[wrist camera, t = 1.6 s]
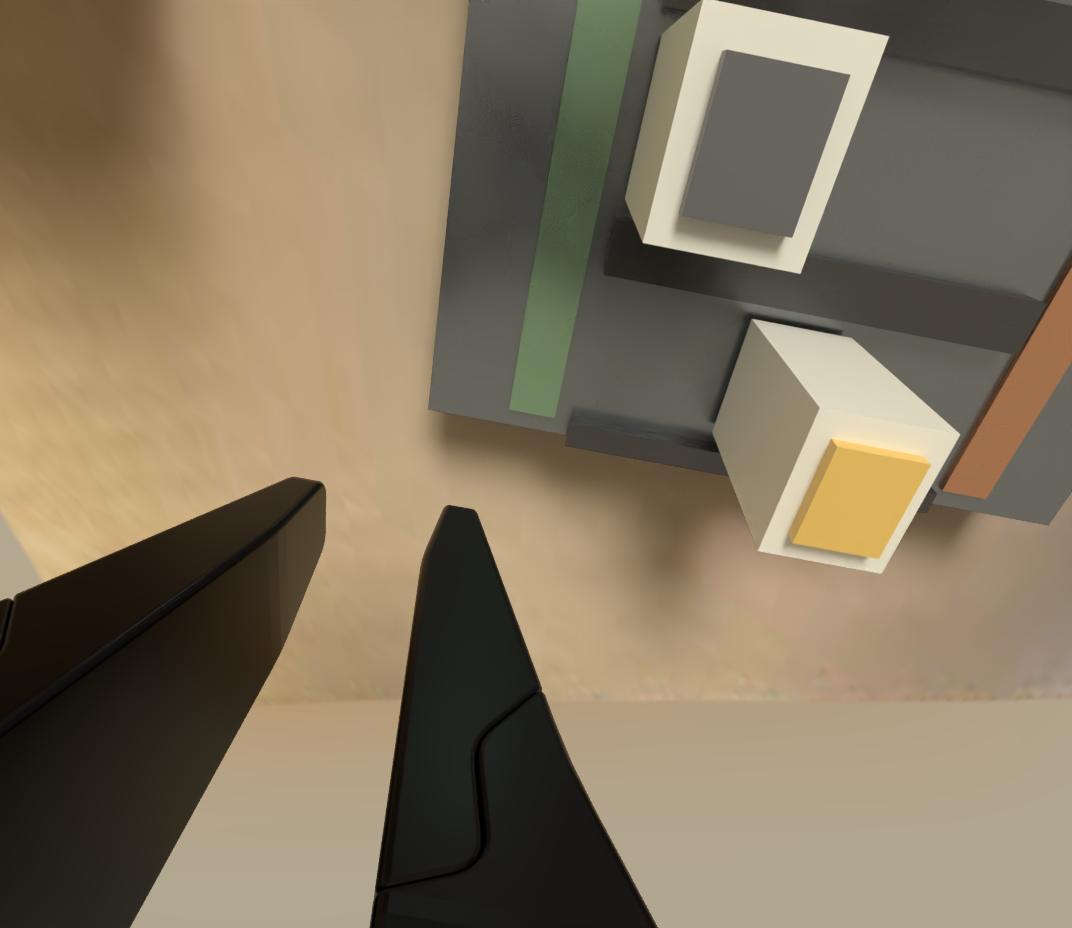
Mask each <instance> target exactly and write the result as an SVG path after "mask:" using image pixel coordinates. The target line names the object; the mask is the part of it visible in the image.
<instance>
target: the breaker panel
mask: <svg viewBox="0 0 1072 928" xmlns="http://www.w3.org/2000/svg"><path fill="white" fill-rule="evenodd" d="M699 1H701V0H469V9H468V19H467V29H466V39H465V49H464V59H463V69H462V79H461V89H460V99H459V109H458V119H457V129H456V139H455V148H454V158H453V168H452V178H451V188H450V198H449V208H448V218H447V228H446V238H445V248H444V258H443V268H442V278H441V288H440V298H439V308H438V318H437V328H436V337H435V347H434V357H433V367H432V377H431V387H430V397H429V407H428V410H434V411H439V412H444V413H450V414H455V415H460V416H466V417H471V418H476V419H482V420H487V421H492V422H498V423H503V424H509V425H514V426H519V427H525V428H530V429H535V430H541V431H546V432H551V433H557V434H562V435H566V446H569V447H575V448H580V449H585V450H591V451H596V452H602V453H607V454H612V455H618V456H623V457H628V458H634V459H639V460H644V461H650V462H655V463H661V464H666V465H671V466H677V467H682V468H687V469H693V470H698V471H703V472H709V473H714V474H720V475H725V476H729V475H728V472H727V470H726V467H725V464H724V462H723V459H722V457H721V454H720V451H719V449H718V446H717V444H716V441H715V438H714V436H713V433H712V431H713V428H714V425H715V422H716V420H717V417H718V414H719V411H720V408H721V405H722V402H723V400H724V397H725V394H726V391H727V388H728V385H729V382H730V379H731V377H732V374H733V371H734V368H735V365H736V362H737V359H738V357H739V354H740V351H741V348H742V345H743V342H744V339H745V337H746V334H747V331H748V328H749V325H750V322H751V319H756V320H761V321H766V322H771V323H777V324H782V325H787V326H792V327H797V328H802V329H807V330H813V331H818V332H823V333H828V334H833V335H838V336H844V337H849V338H852V339H854V340H855V341H856V342H857V343H858V344H859V345H860V346H861V347H863V348H864V349H865V350H866V351H867V352H868V353H869V354H870V355H872V356H873V357H874V358H875V359H876V360H877V361H878V362H879V363H881V364H882V365H883V366H884V367H885V368H886V369H887V370H888V371H890V372H891V373H892V374H893V375H894V376H895V377H896V378H897V379H899V380H900V381H901V382H902V383H903V384H904V385H905V386H906V387H908V388H909V389H910V390H911V391H912V392H913V393H914V394H915V395H917V396H918V397H919V398H920V399H921V400H922V401H923V402H924V403H926V404H927V405H928V406H929V407H930V408H931V409H932V410H933V411H935V412H936V413H937V414H938V415H939V416H940V417H941V418H942V419H944V420H945V421H946V422H947V423H948V424H949V425H950V426H951V427H953V428H954V429H955V430H956V431H957V432H958V433H959V434H960V436H959V438H958V440H957V441H956V443H955V445H954V447H953V449H952V450H951V452H950V454H949V456H948V457H947V459H946V461H945V463H944V464H943V466H942V468H941V470H940V471H939V473H938V475H937V477H936V479H935V480H934V482H933V484H932V486H931V487H930V489H929V491H928V493H927V494H926V496H925V498H924V500H923V502H922V503H921V505H920V507H919V509H918V510H917V511H918V512H923V513H927V511H928V510H929V508H930V506H931V504H937V505H942V506H947V507H953V508H958V509H963V510H969V511H974V512H979V513H985V514H990V515H995V516H1001V517H1006V518H1012V519H1017V520H1022V521H1028V522H1033V523H1038V524H1044V525H1049V524H1050V522H1051V521H1052V519H1053V518H1054V517H1055V515H1056V514H1057V512H1058V511H1059V509H1060V508H1061V506H1062V505H1063V504H1064V502H1065V501H1066V499H1067V498H1068V496H1069V495H1070V494H1071V492H1072V0H716V1H721V2H726V3H731V4H736V5H741V6H745V7H750V8H755V9H760V10H765V11H769V12H774V13H779V14H784V15H789V16H794V17H798V18H803V19H808V20H813V21H818V22H823V23H827V24H832V25H837V26H842V27H847V28H851V29H856V30H861V31H866V32H871V33H876V34H880V35H885V36H889V38H888V41H887V44H886V46H885V49H884V52H883V54H882V57H881V60H880V63H879V65H878V68H877V71H876V73H875V76H874V79H873V81H872V84H871V87H870V89H869V92H868V95H867V97H866V100H865V103H864V105H863V108H862V111H861V113H860V116H859V119H858V121H857V124H856V127H855V129H854V132H853V135H852V137H851V140H850V143H849V145H848V148H847V151H846V153H845V156H844V159H843V161H842V164H841V167H840V169H839V172H838V175H837V177H836V180H835V183H834V185H833V188H832V191H831V193H830V196H829V199H828V201H827V204H826V207H825V209H824V212H823V215H822V217H821V220H820V223H819V225H818V228H817V231H816V233H815V236H814V239H813V241H812V244H811V247H810V249H809V252H808V255H807V257H806V260H805V263H804V265H803V268H802V271H801V274H799V273H794V272H789V271H783V270H778V269H773V268H768V267H763V266H758V265H753V264H748V263H743V262H738V261H732V260H727V259H722V258H717V257H712V256H707V255H702V254H697V253H692V252H687V251H681V250H676V249H671V248H666V247H661V246H656V245H651V244H646V243H643V242H642V240H641V237H640V235H639V232H638V230H637V227H636V225H635V223H634V220H633V218H632V215H631V213H630V210H629V208H628V205H627V203H626V200H625V195H626V191H627V186H628V182H629V177H630V173H631V169H632V164H633V160H634V155H635V151H636V147H637V142H638V138H639V133H640V129H641V125H642V120H643V116H644V111H645V107H646V103H647V98H648V94H649V89H650V85H651V81H652V76H653V72H654V67H655V63H656V59H657V54H658V50H659V45H660V41H661V37H662V34H663V33H664V32H665V31H666V30H667V29H668V28H669V27H671V26H672V25H673V24H674V23H675V22H676V21H678V20H679V19H680V18H681V17H682V16H683V15H684V14H686V13H687V12H688V11H689V10H690V9H691V8H692V7H694V6H695V5H696V4H697V3H698V2H699Z"/></svg>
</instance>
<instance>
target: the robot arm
mask: <svg viewBox="0 0 1072 928" xmlns="http://www.w3.org/2000/svg"><path fill="white" fill-rule="evenodd" d="M325 534H326V489H325V486H324V484H323V483H322V482H320V481H315V480H310V479H304V478H299V477H290V478H287V479H285V480H282V481H280V482H278V483H275V484H273V485H271V486H268V487H266V488H264V489H261V490H259V491H257V492H254V493H252V494H250V495H247V496H245V497H243V498H240V499H238V500H236V501H233V502H231V503H229V504H226V505H224V506H222V507H219V508H217V509H215V510H212V511H210V512H208V513H205V514H203V515H201V516H198V517H196V518H194V519H191V520H189V521H187V522H184V523H182V524H180V525H177V526H175V527H173V528H170V529H168V530H166V531H163V532H161V533H159V534H156V535H154V536H151V537H149V538H147V539H144V540H142V541H140V542H137V543H135V544H133V545H130V546H128V547H126V548H123V549H121V550H119V551H116V552H114V553H112V554H109V555H107V556H105V557H102V558H100V559H98V560H95V561H93V562H91V563H88V564H86V565H84V566H81V567H79V568H77V569H74V570H72V571H70V572H67V573H65V574H62V575H60V576H58V577H55V578H53V579H51V580H48V581H46V582H44V583H41V584H39V585H37V586H34V587H32V588H30V589H27V590H25V591H23V592H21V593H18V594H16V595H15V597H14V599H13V600H11V599H9V598H7V599H3V600H1V601H0V928H130V927H131V925H132V923H133V921H134V919H135V917H136V915H137V914H138V912H139V910H140V908H141V907H142V905H143V903H144V901H145V899H146V897H147V896H148V894H149V892H150V890H151V888H152V886H153V885H154V883H155V881H156V879H157V877H158V875H159V874H160V872H161V870H162V868H163V866H164V864H165V863H166V861H167V859H168V857H169V856H170V854H171V852H172V850H173V848H174V847H175V845H176V843H177V841H178V839H179V837H180V835H181V834H182V832H183V830H184V828H185V827H186V825H187V823H188V821H189V819H190V817H191V816H192V814H193V812H194V810H195V808H196V807H197V805H198V803H199V801H200V799H201V798H202V796H203V794H204V792H205V790H206V788H207V787H208V785H209V783H210V781H211V779H212V778H213V776H214V774H215V772H216V770H217V768H218V767H219V765H220V763H221V761H222V759H223V758H224V756H225V754H226V752H227V750H228V748H229V747H230V745H231V743H232V741H233V739H234V737H235V736H236V734H237V732H238V730H239V728H240V727H241V725H242V723H243V721H244V719H245V718H246V716H247V714H248V712H249V710H250V708H251V707H252V705H253V703H254V701H255V699H256V698H257V696H258V694H259V692H260V690H261V688H262V687H263V685H264V683H265V681H266V679H267V678H268V676H269V674H270V672H271V670H272V668H273V667H274V665H275V663H276V661H277V659H278V657H279V655H280V653H281V651H282V649H283V646H284V644H285V642H286V639H287V637H288V635H289V632H290V630H291V627H292V625H293V622H294V620H295V617H296V615H297V612H298V610H299V607H300V605H301V602H302V600H303V597H304V595H305V592H306V590H307V587H308V585H309V583H310V580H311V578H312V575H313V573H314V570H315V568H316V565H317V563H318V560H319V558H320V555H321V553H322V550H323V546H324V542H325ZM370 928H658V927H657V925H656V923H655V921H654V920H653V918H652V916H651V914H650V912H649V910H648V908H647V906H646V904H645V902H644V901H643V899H642V897H641V895H640V893H639V891H638V889H637V887H636V886H635V884H634V882H633V880H632V878H631V876H630V874H629V872H628V870H627V869H626V867H625V865H624V863H623V861H622V859H621V857H620V856H619V854H618V852H617V850H616V848H615V847H614V844H613V843H612V840H611V839H610V837H609V835H608V833H607V831H606V829H605V827H604V825H603V824H602V822H601V820H600V818H599V816H598V814H597V812H596V810H595V808H594V806H593V805H592V802H591V801H590V798H589V796H588V794H587V793H586V790H585V788H584V786H583V784H582V782H581V780H580V778H579V776H578V774H577V772H576V770H575V768H574V766H573V764H572V762H571V759H570V757H569V755H568V752H567V750H566V747H565V745H564V743H563V740H562V738H561V735H560V733H559V731H558V728H557V726H556V723H555V721H554V718H553V715H552V713H551V710H550V707H549V705H548V702H547V699H546V697H545V694H544V693H543V692H542V687H541V684H540V681H539V679H538V676H537V673H536V671H535V668H534V665H533V662H532V660H531V657H530V654H529V652H528V649H527V646H526V644H525V641H524V638H523V635H522V633H521V630H520V627H519V625H518V622H517V619H516V617H515V614H514V611H513V608H512V606H511V603H510V600H509V598H508V595H507V592H506V590H505V587H504V584H503V581H502V579H501V576H500V573H499V571H498V568H497V565H496V563H495V560H494V557H493V554H492V552H491V549H490V546H489V544H488V541H487V538H486V536H485V533H484V530H483V527H482V525H481V522H480V519H479V517H478V514H477V512H476V511H475V510H473V509H469V508H463V507H458V506H452V505H447V506H445V507H444V508H443V510H442V513H441V515H440V517H439V520H438V522H437V524H436V527H435V529H434V531H433V534H432V536H431V538H430V541H429V543H428V545H427V547H426V550H425V553H424V555H423V558H422V562H421V567H420V573H419V580H418V587H417V595H416V602H415V609H414V616H413V623H412V630H411V637H410V644H409V651H408V658H407V666H406V673H405V680H404V687H403V694H402V701H401V709H400V715H399V722H398V730H397V737H396V744H395V751H394V758H393V765H392V772H391V779H390V787H389V794H388V801H387V808H386V815H385V822H384V829H383V836H382V843H381V850H380V858H379V865H378V872H377V879H376V886H375V895H374V901H373V907H372V915H371V921H370Z"/></svg>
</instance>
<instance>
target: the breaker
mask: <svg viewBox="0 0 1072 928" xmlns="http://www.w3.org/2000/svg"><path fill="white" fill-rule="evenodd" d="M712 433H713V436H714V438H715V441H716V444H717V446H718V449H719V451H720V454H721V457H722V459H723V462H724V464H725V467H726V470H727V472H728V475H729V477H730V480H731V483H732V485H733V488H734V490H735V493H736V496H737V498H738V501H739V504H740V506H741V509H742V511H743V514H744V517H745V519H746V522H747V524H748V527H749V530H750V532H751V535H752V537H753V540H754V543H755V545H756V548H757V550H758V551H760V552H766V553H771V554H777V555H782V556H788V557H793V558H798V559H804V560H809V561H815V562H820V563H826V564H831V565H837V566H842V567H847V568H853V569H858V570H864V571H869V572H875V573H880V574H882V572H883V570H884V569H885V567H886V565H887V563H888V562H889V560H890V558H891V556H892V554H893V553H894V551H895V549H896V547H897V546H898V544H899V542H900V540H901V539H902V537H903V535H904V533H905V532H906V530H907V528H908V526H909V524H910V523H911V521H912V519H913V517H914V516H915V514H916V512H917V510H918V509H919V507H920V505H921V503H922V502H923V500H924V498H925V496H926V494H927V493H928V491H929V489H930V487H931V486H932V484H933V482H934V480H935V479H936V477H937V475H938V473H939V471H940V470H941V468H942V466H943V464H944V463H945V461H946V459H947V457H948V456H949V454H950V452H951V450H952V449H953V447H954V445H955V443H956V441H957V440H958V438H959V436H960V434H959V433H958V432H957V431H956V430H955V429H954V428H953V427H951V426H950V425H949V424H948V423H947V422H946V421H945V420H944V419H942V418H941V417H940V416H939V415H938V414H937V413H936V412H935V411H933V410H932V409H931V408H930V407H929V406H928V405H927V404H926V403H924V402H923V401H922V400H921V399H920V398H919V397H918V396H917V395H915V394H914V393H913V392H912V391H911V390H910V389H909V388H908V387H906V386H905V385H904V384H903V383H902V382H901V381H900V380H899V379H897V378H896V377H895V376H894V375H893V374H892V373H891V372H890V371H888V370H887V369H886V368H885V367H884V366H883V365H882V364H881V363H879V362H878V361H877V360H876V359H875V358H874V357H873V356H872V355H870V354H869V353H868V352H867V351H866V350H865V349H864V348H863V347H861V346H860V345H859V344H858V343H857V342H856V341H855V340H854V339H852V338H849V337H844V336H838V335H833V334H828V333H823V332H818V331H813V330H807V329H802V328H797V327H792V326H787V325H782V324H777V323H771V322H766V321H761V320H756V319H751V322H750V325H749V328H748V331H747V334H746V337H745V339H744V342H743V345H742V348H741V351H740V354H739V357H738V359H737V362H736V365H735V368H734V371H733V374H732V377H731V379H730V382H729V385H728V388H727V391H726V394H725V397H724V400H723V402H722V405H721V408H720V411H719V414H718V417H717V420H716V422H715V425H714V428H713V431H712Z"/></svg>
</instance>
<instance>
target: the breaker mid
mask: <svg viewBox="0 0 1072 928" xmlns="http://www.w3.org/2000/svg"><path fill="white" fill-rule="evenodd" d="M888 38H889V36H885V35H880V34H876V33H871V32H866V31H861V30H856V29H851V28H847V27H842V26H837V25H832V24H827V23H823V22H818V21H813V20H808V19H803V18H798V17H794V16H789V15H784V14H779V13H774V12H769V11H765V10H760V9H755V8H750V7H745V6H741V5H736V4H731V3H726V2H721V1H716V0H701V1H699V2H698V3H697V4H696V5H695V6H694V7H692V8H691V9H690V10H689V11H688V12H687V13H686V14H684V15H683V16H682V17H681V18H680V19H679V20H678V21H676V22H675V23H674V24H673V25H672V26H671V27H669V28H668V29H667V30H666V31H665V32H664V33H663V34H662V37H661V41H660V45H659V50H658V54H657V59H656V63H655V67H654V72H653V76H652V81H651V85H650V89H649V94H648V98H647V103H646V107H645V111H644V116H643V120H642V125H641V129H640V133H639V138H638V142H637V147H636V151H635V155H634V160H633V164H632V169H631V173H630V177H629V182H628V186H627V191H626V195H625V200H626V203H627V205H628V208H629V210H630V213H631V215H632V218H633V220H634V223H635V225H636V227H637V230H638V232H639V235H640V237H641V240H642V242H643V243H646V244H651V245H656V246H661V247H666V248H671V249H676V250H681V251H687V252H692V253H697V254H702V255H707V256H712V257H717V258H722V259H727V260H732V261H738V262H743V263H748V264H753V265H758V266H763V267H768V268H773V269H778V270H783V271H789V272H794V273H799V274H801V271H802V268H803V265H804V263H805V260H806V257H807V255H808V252H809V249H810V247H811V244H812V241H813V239H814V236H815V233H816V231H817V228H818V225H819V223H820V220H821V217H822V215H823V212H824V209H825V207H826V204H827V201H828V199H829V196H830V193H831V191H832V188H833V185H834V183H835V180H836V177H837V175H838V172H839V169H840V167H841V164H842V161H843V159H844V156H845V153H846V151H847V148H848V145H849V143H850V140H851V137H852V135H853V132H854V129H855V127H856V124H857V121H858V119H859V116H860V113H861V111H862V108H863V105H864V103H865V100H866V97H867V95H868V92H869V89H870V87H871V84H872V81H873V79H874V76H875V73H876V71H877V68H878V65H879V63H880V60H881V57H882V54H883V52H884V49H885V46H886V44H887V41H888Z"/></svg>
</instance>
